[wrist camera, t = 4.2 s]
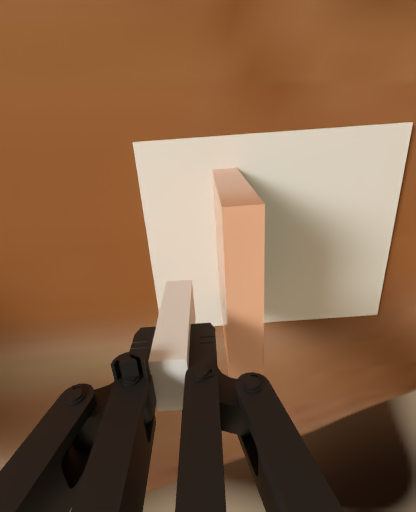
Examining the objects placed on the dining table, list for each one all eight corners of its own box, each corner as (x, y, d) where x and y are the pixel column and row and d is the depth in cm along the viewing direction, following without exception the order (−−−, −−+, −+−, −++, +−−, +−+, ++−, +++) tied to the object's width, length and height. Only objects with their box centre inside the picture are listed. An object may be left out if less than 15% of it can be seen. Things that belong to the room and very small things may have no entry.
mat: (162, 326, 32) (161, 329, 31) (134, 141, 25) (132, 142, 24) (374, 311, 32) (377, 314, 31) (408, 122, 25) (413, 122, 24)
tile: (219, 295, 30) (231, 397, 19) (212, 169, 25) (221, 207, 14) (240, 294, 30) (264, 394, 19) (237, 167, 25) (266, 204, 14)
